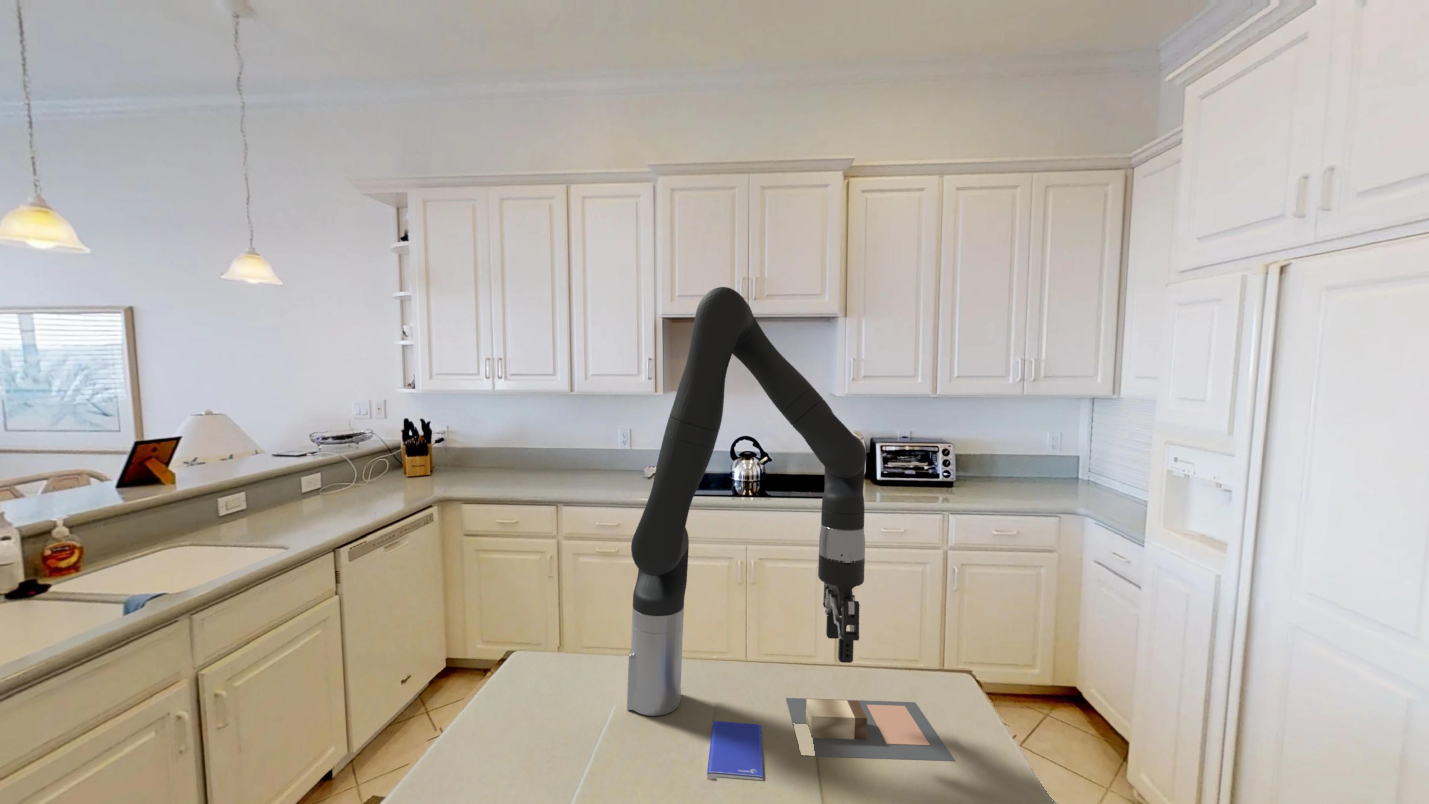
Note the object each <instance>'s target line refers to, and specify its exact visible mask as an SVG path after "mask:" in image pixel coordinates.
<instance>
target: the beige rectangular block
mask: <svg viewBox="0 0 1429 804" xmlns="http://www.w3.org/2000/svg"><path fill="white" fill-rule="evenodd" d="M806 699H807V700H806V722H807V725H808V727H809V730H810V733H811V737H812V738H831V739H862V740H866V738H867V717H866V715H865V713H864V711H863V709H862V707H861V705H860V703H859V701H849V700H850V699H835V700H819V699H820V698H806Z"/></svg>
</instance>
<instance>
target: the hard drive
mask: <svg viewBox="0 0 1429 804" xmlns="http://www.w3.org/2000/svg"><path fill="white" fill-rule="evenodd" d="M711 724H712V725H711V734H710V743H709V744H710V745H709V751H708V752H709V753H708V762H707V771H706V779H707V778H717V779H718V778H729V779H730V778H731V779H742V780H757V781H764V764H763V763H764V762H763V761H764V760H763V742H762V741H763V740H762V738H763V737H762V726H761V725H760V724H757V723H746V722H734V721H733V722H731V721H722V720H721V721H719V720H713V721H712V723H711Z"/></svg>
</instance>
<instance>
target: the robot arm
mask: <svg viewBox="0 0 1429 804" xmlns="http://www.w3.org/2000/svg"><path fill="white" fill-rule="evenodd" d="M756 319H757V318H755V316H754V314H753V311H752V309H751V306H750V305H749V304H748V302H747V301H746V300H745V298H744V297H743V296H742V295H741V294H740V293H739V292H738V291H736V290H735V289H734V288H731V287H727V286H720V287H714V288H713V289H711V290H709V291H708V292H707V293H706V294H705V295H703V296H702V298H701V300H700V301H699V303H698V305H697V308H696V311H695V316H694V321H693V328H692V333H691V339H690V346H689V350H688V354H687V355H688V356H687V360H686V362H685V366H684V370H683V373H682V375H681V378H680V381H679V385H678V387H677V391H676V394H675V397H674V401H673V404H672V407H671V410H670V414H669V417H668V420H667V424H666V426H665V429H664V433H663V438H662V442H661V446H660V451H659V454H658V458H657V462H656V466H655V467H656V468H655V472H654V478H653V483H652V486H651V490H650V494H649V496H648V499H647V502H646V505H645V508H644V509H643V512H642V515H641V517H640V520H639V522H638V525H637V527H636V530H635V532H634V534H633V537H632V540H631V546H630V550H631V551H630V552H631V557H632V560H633V562H634V565H635V566H636V568H637V569H638V572H637V576H636V582H635V586H634V590H633V592H632V593H633V594H632V614H631V615H632V616H631V639H630V640H631V642H630V652H629V655H628V667H627V668H628V669H627V694H626V710H628V711H634V712H636V713H638V714H640V715H643V716H648V717H649V716H651V717H653V716H654V717H655V716H657V717H658V716H664V715H667V714H670V713H671V712H674V711H675V710H676V709H677V708H679V706H680V702H681V693H682V667H683V666H682V662H683V641H684V640H683V637H684V634H683V633H684V614H685V613H684V610H685V597H686V596H685V595H686V589H687V583H688V569H689V568H688V567H689V566H688V565H689V548H690V547H689V545H690V540H689V534H688V533H689V532H688V529H687V528H686V525H687V522H688V521H687V520H688V517H689V513H690V508H691V504H692V503H693V500H694V497H695V494H696V492H697V490H698V488H699V487H700V486H699V485H700V483H701V482H702V479H703V477H704V476H705V473H706V470H707V468H708V465H709V463H710V460H711V458H712V456H713V453H714V451H715V450H714V449H715V446H716V442H717V440H718V435H719V432H720V430H721V425H722V421H723V413H724V402H725V389H726V388H725V387H726V378H727V377H726V376H727V371H728V368H729V364H730V361H731V359H732V356H734V357H735V358H736V359H738V360H739V361H740V362H741V363H742V364H743V366H745V368H747V370H748V372H750V373H751V375H752V376H753V377H754V379H756V381H757V382H758V384H759V385H760V387H761V389H763V392H765V394H766V395H767V397H768V398H769V399H770V400H771V402H772V404H773V405H774V406H775V407H776V408H777V410H778V411H779V412H780V413H781V415H782V416H783V417H784V418H785V419H786V420H787V422H788V423H789V424H790V425H791V426H792V428H793V429H795V430H796V431H797V433H799V434H800V436H802V438H803V439H804V441H805V442H806V443H807V445H808V446H809V449H810V450H811V451H812V452H813V454H814V455H815V456H816V458H817V459H818V461H819V462H820V463H821V465H823V467H824V490H823V495H822V499H821V500H822V501H821V516H820V517H821V519H820V521H821V522H820V523H821V525H820V530H819V536H818V537H819V538H818V540H819V541H818V565H817V566H818V567H817V568H818V571H817V572H818V573H817V575H818V579H819V580H820V581H821V582H822V583H823V602H822V606H823V608H825V609H824V613H825V615H826V632H825V635H826V637H827V638H828V639H836V640H837V639H838V650H837V651H838V653H837V655H838V656H837V658H838V661H839V662H840V663H841V664H842V663H844V664H845V663H846V664H848V663H849V664H850V663H852V662H853V661H854V641H857V642H859V641H860V608H861V607H860V602H859V600H856V595H855V594H853V589H854V588H855V587H859V586H861V585H863V583H865V582H864V581H865V564H866V563H865V560H866V557H865V556H866V537H865V536H866V535H865V499H864V498H865V497H864V486H865V485H864V484H865V472H866V471H865V470H866V469H865V468H866V462H867V452H866V447H865V445H864V443H863V442H862V440H861V439H860V438H859V437H857V436H856V435H854V434H853V433H852V432H851V431H850V430H849V428H848V427H847V426H846V425H845V424H844V423H843V422H842V421H841V420H840V419H839V418H838V417H837V416H836V415H835V414H834V412H833V410H832V408H831V407H830V405H829V404H828V402H827V401H826V400H825V399H824V398H823V397H822V396H821V394H820V393H819V392H818V391H817V390H816V389H815V388H814V386H813V385H812V384H811V383H810V382H809V381H808V380H807V379H806V377H804V375H803V374H802V373H800V372H799V371H798V369H796V368H795V366H793V365H792V364H791V363H790V362H789V361H788V360H787V359H786V358H785V357H784V356H783V355H782V354H781V353H780V352H779V350H778V349H777V348H776V347H775V346H774V345H773V343H772V342H771V341H770V340H769V338H768V337H767V335H766V334H765V332H764V331H763V329H762V328H761V326H760V325H759V323H758V321H757V320H756ZM848 626H849V630H847V628H848Z"/></svg>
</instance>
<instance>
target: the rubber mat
mask: <svg viewBox="0 0 1429 804" xmlns="http://www.w3.org/2000/svg"><path fill="white" fill-rule="evenodd" d="M785 699H786V700H785V701H786V704H787V708H788V712H789V715H790V719H791V720H790V721H791V723H795V724H807V722H806V700H807V699H808V698H807V697H806V698H804V697H803V698H802V697H799V698H798V697H785ZM818 699H819V700H836V699H835V698H834V699H830V698H829V699H827V698H818ZM848 700H849V701H859V703H860V705H861V707H862V709H863V711H864V713H865V715H866V717H867V738H866V740H862V739H831V738H813V744H814V751H815V757H814V758H842V759H844V758H845V759H847V758H848V759H873V760H875V759H876V760H877V759H878V760H879V759H880V760H882V759H883V760H908V761H933V762H934V761H935V762H936V761H937V762H940V761H941V762H956V759H955V758H954V756H953V755H952V753H951V752H950V750H948V748H947V746H946V744H944V742H943V741H942V739H941V738H940V736H939V734H938V733H937V731H936V730H935V729H934V727H933V726H932V724H931V723H930V721H929V720H928V719H927V718H926V716H925V714H924V712H923V711H922V710H921V709H920V707H919V706H918V704H917V703H916V702H915V701H893V700H891V701H890V700H889V701H888V700H863V699H862V700H858V699H848Z"/></svg>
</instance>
